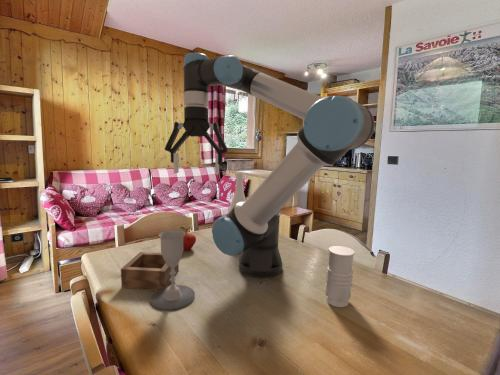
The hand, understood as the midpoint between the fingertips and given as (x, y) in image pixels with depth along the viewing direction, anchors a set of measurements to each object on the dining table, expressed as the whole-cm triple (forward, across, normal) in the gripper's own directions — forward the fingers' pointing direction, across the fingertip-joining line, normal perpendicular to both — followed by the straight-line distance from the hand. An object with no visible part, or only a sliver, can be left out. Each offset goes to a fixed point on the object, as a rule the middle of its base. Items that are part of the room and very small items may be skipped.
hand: (196, 173), depth 94 cm
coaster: (+33, +2, +20) cm, 38 cm away
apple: (+33, +8, -15) cm, 37 cm away
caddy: (+33, +12, +10) cm, 36 cm away
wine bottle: (+33, -11, -33) cm, 48 cm away
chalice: (+32, +2, +20) cm, 38 cm away
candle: (+33, -44, +17) cm, 57 cm away
